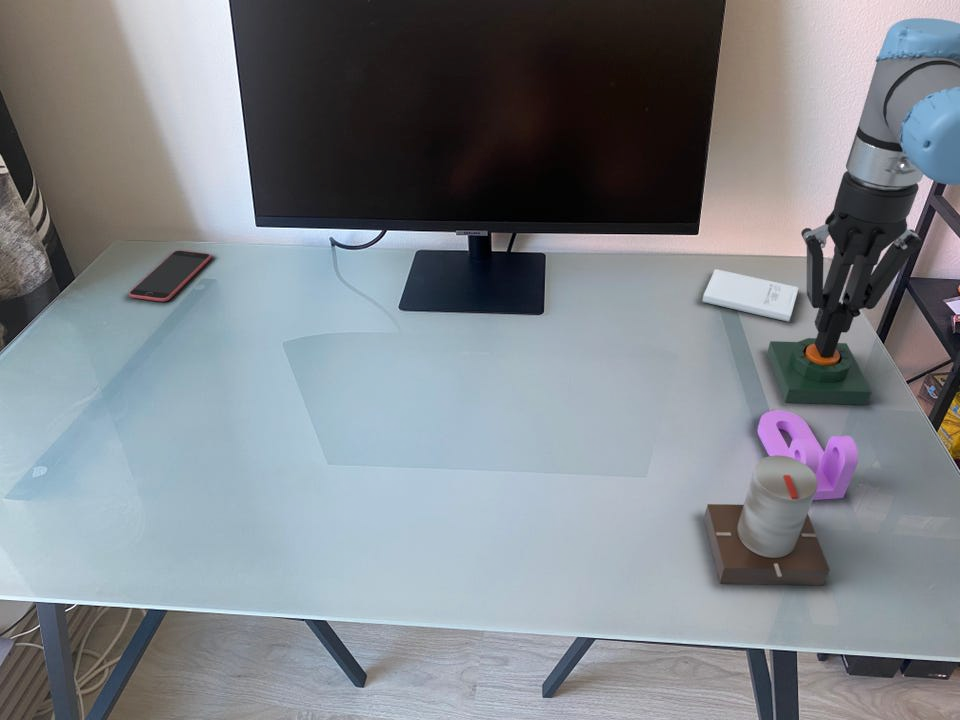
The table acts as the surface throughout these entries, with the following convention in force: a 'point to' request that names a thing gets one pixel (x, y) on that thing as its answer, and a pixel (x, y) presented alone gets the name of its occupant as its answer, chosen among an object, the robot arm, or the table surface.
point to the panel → (755, 569)
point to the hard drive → (751, 295)
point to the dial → (776, 505)
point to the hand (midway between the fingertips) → (823, 350)
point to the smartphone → (170, 276)
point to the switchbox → (817, 375)
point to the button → (825, 361)
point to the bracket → (811, 452)
